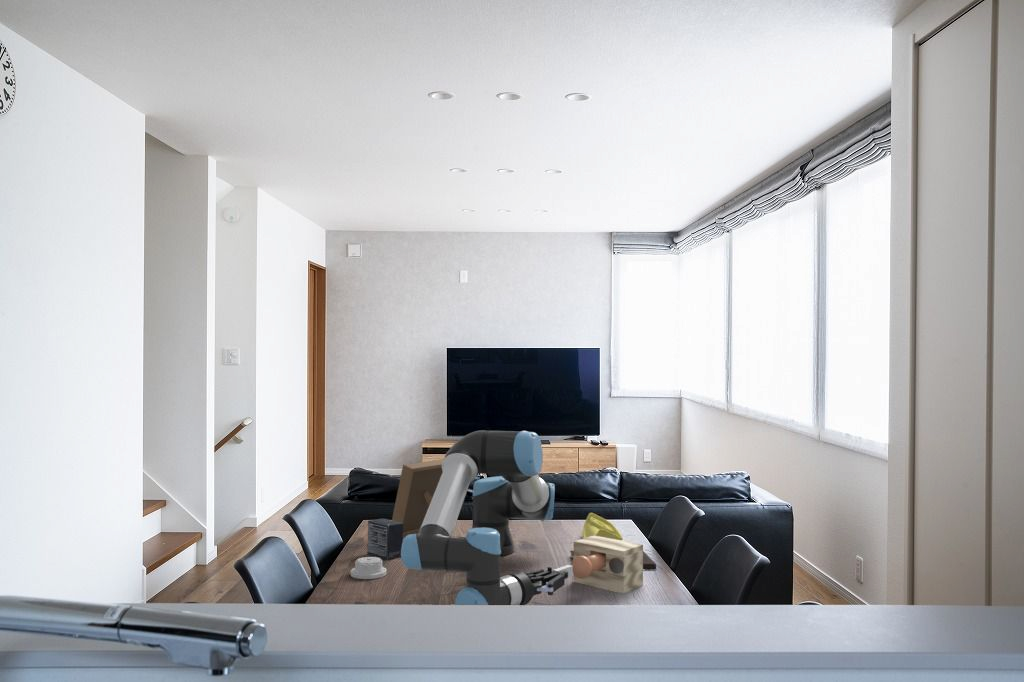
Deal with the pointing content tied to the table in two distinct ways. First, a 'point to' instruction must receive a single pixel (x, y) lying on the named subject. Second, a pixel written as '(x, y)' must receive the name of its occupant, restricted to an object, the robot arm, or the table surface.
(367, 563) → the mechanical component
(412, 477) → the photo frame
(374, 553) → the small box
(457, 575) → the table surface
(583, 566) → the plug
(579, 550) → the socket block
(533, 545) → the table surface
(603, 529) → the plastic component
